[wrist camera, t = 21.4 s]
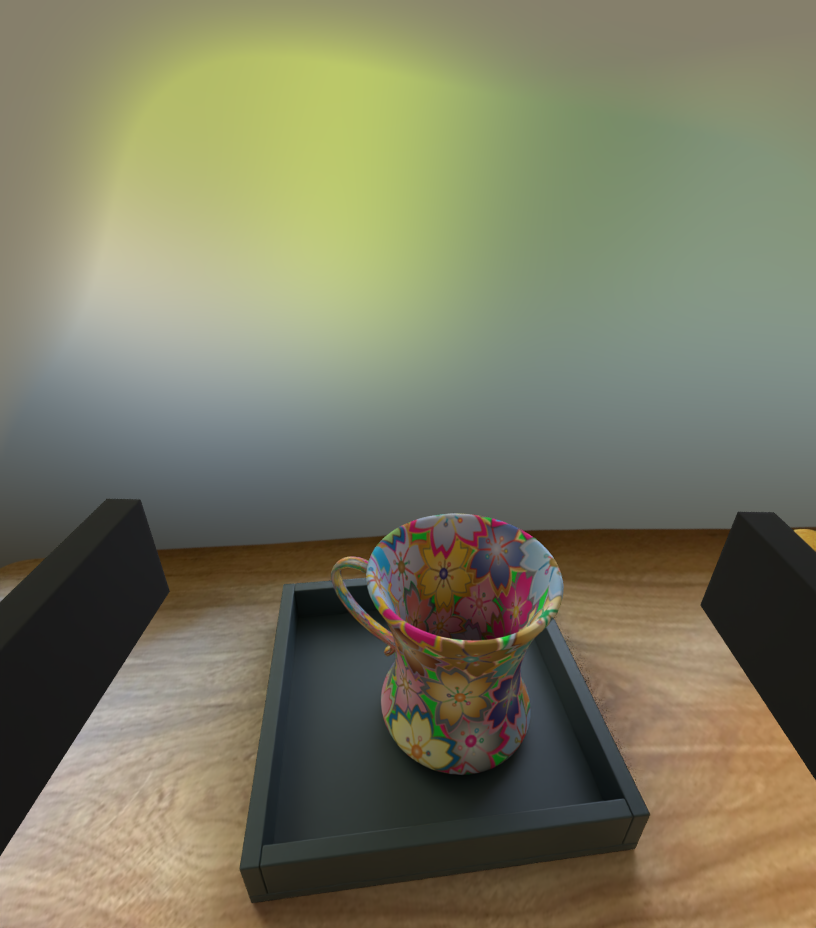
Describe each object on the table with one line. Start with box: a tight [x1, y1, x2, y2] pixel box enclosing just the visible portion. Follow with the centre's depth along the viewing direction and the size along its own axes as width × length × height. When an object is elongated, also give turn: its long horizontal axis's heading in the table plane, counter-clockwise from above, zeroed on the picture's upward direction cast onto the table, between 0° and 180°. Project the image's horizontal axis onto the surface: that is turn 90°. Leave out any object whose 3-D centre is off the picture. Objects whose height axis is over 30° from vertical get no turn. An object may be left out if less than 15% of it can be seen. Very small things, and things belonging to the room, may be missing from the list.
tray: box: [240, 578, 650, 903], centre depth 29 cm, size 18×17×3 cm
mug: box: [331, 514, 563, 775], centre depth 26 cm, size 12×9×11 cm
